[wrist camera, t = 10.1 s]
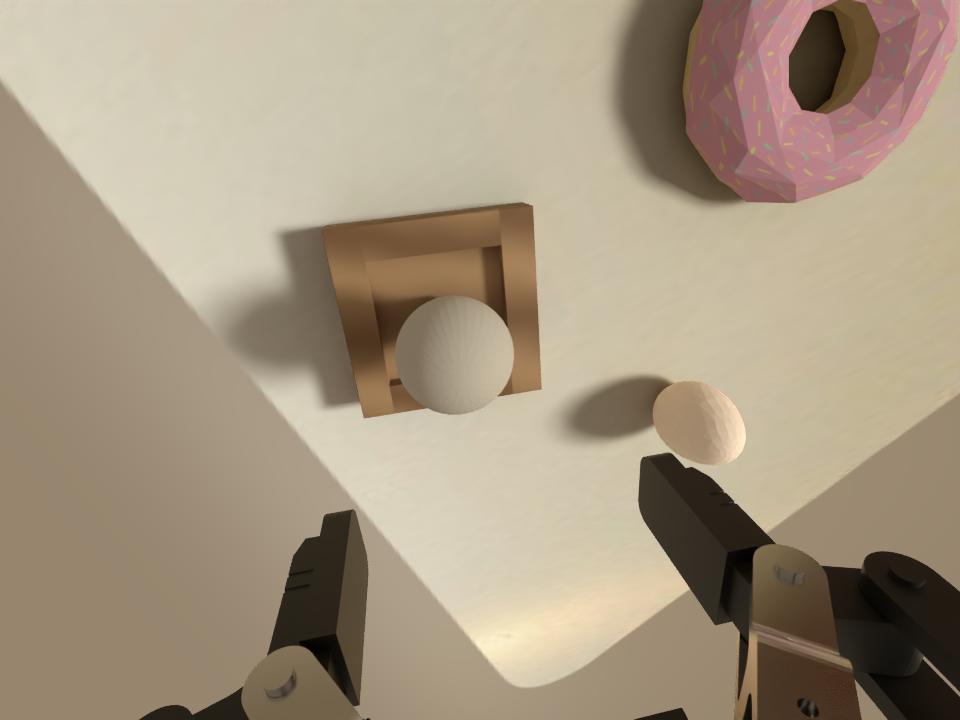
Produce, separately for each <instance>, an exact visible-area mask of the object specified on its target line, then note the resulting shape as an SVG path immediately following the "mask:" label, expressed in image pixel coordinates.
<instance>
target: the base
mask: <svg viewBox="0 0 960 720" xmlns="http://www.w3.org/2000/svg"><path fill="white" fill-rule="evenodd" d="M322 236H323V240H324V245H325V249H326V253H327V258H328V262H329V267H330V271H331V275H332V280H333V284H334V289H335V293H336V297H337V302H338V306H339V311H340V315H341V319H342V324H343V328H344V333H345V337H346V341H347V346H348V350H349V355H350V359H351V363H352V368H353V372H354V377H355V381H356V385H357V390H358V394H359V398H360V403H361V407H362V412H363V416H364V418H370V417H376V416H382V415H388V414H394V413H400V412H406V411H412V410H418V409H425V408H427V407H425V406H423V405H422V404H420V403H419V402H417V401H416V400H415V399H414V398H413V397H412V396H411V395H410V394H409V393H408V391H407V390H406V389H405V387H404V386H403V384H402V382H401V380H400V378H399V375H398V372H397V368H396V362H395V347H396V342H397V338H398V335H399V333H400V330H401V328H402V326H403V324H404V323H405V321H406V320H407V319H408V317H409V316H410V315H411V314H412V313H413V312H414V311H415V310H416V309H417V308H419V307H420V306H422V305H423V304H425V303H426V302H429V301H431V300H433V299H436V298H439V297H444V296H453V295H454V296H465V297H469V298H473V299H475V300H478V301H481V302H482V303H484V304H486V305H487V306H489V307H490V308H491V309H493V310H494V311H495V312H496V313H497V314H498V315H499V316H500V318H501V319H502V320H503V321H504V323H505V325H506V326H507V328H508V330H509V333H510V335H511V338H512V342H513V347H514V362H513V369H512V372H511V375H510V378H509V380H508V382H507V384H506V386H505V387H504V389H503V390H502V392H501V393H500V394H499V395H498V396H504V395H510V394H516V393H522V392H528V391H534V390H540V389H542V388H541V367H540V346H539V325H538V304H537V283H536V262H535V241H534V220H533V206H531V205H528V204H525V203H514V204H505V205H497V206H488V207H480V208H471V209H463V210H454V211H446V212H437V213H429V214H420V215H412V216H403V217H395V218H386V219H378V220H369V221H361V222H352V223H344V224H336V225H327V226H326V227H325V228H324V229H323V230H322ZM498 396H497V397H498Z"/></svg>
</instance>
